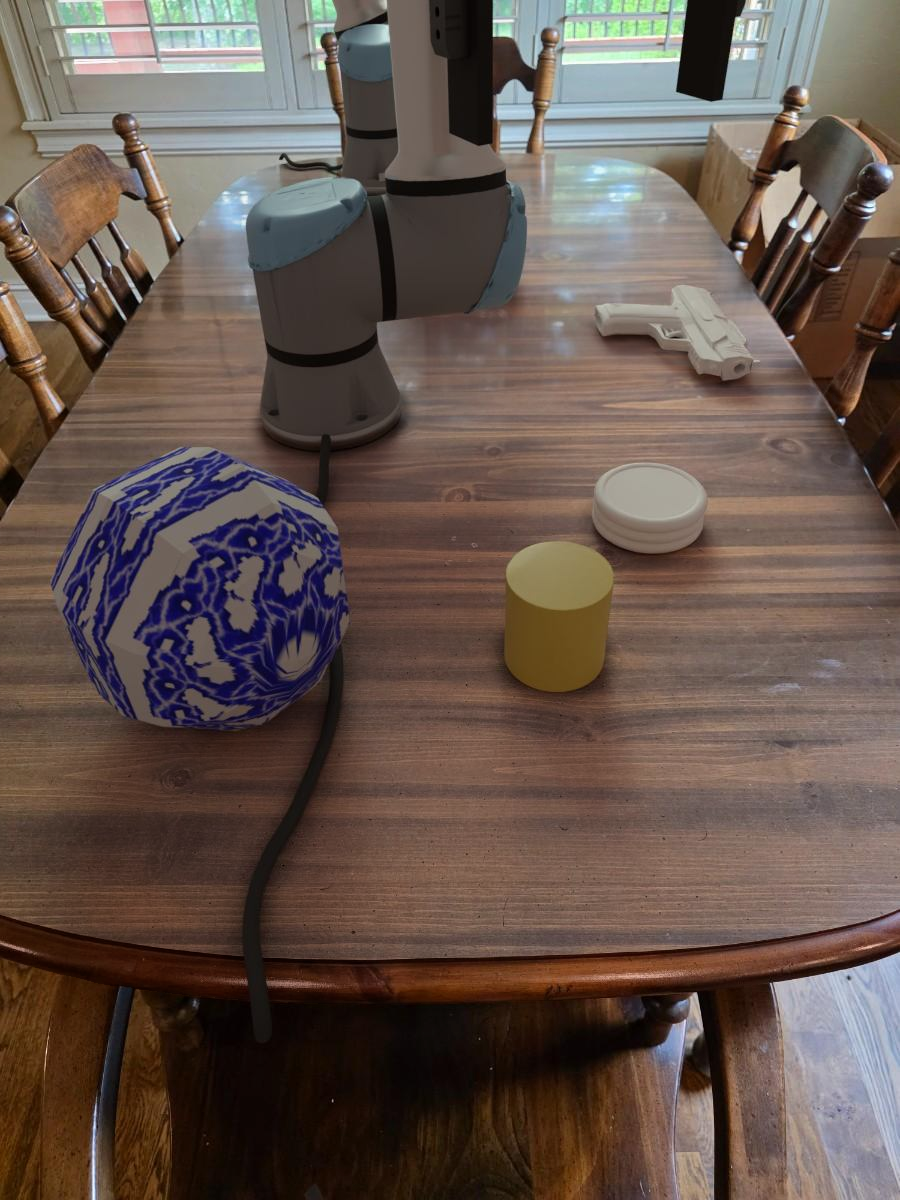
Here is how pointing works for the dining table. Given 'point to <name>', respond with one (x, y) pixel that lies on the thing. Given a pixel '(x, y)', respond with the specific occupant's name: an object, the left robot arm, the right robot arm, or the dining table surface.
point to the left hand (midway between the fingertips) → (590, 117)
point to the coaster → (649, 507)
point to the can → (557, 615)
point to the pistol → (684, 330)
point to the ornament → (203, 591)
